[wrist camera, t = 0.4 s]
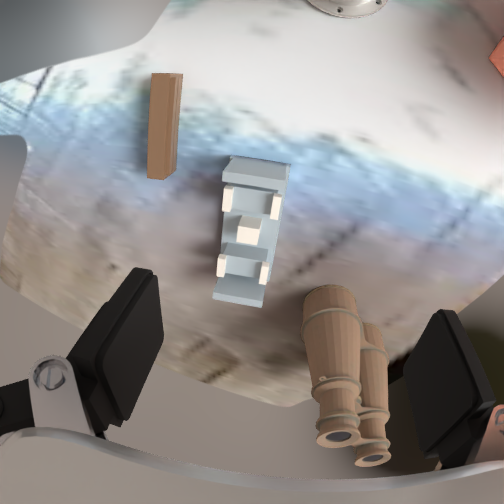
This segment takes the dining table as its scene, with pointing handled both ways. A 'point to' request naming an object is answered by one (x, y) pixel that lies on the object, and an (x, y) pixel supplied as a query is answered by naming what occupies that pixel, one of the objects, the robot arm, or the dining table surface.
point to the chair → (498, 57)
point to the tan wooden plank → (163, 124)
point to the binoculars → (346, 374)
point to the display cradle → (249, 228)
